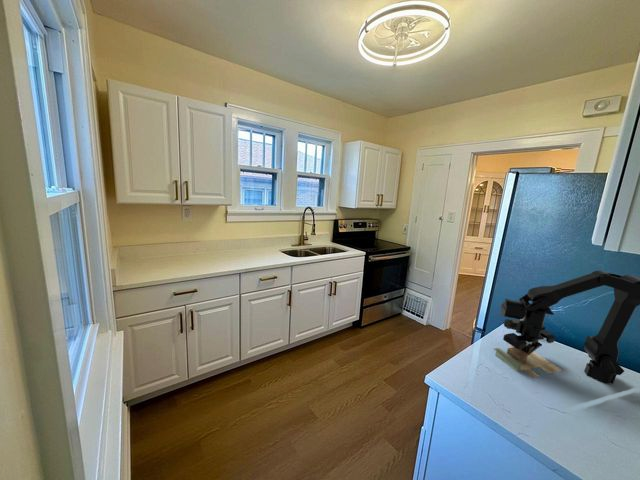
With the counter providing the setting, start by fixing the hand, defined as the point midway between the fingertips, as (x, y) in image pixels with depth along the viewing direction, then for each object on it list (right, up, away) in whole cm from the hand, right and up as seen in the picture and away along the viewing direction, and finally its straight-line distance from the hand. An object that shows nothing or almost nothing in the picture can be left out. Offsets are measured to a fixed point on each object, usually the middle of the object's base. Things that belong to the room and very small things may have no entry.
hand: (523, 356), depth 101 cm
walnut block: (-4, -1, -1) cm, 4 cm away
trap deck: (+1, -2, +1) cm, 2 cm away
